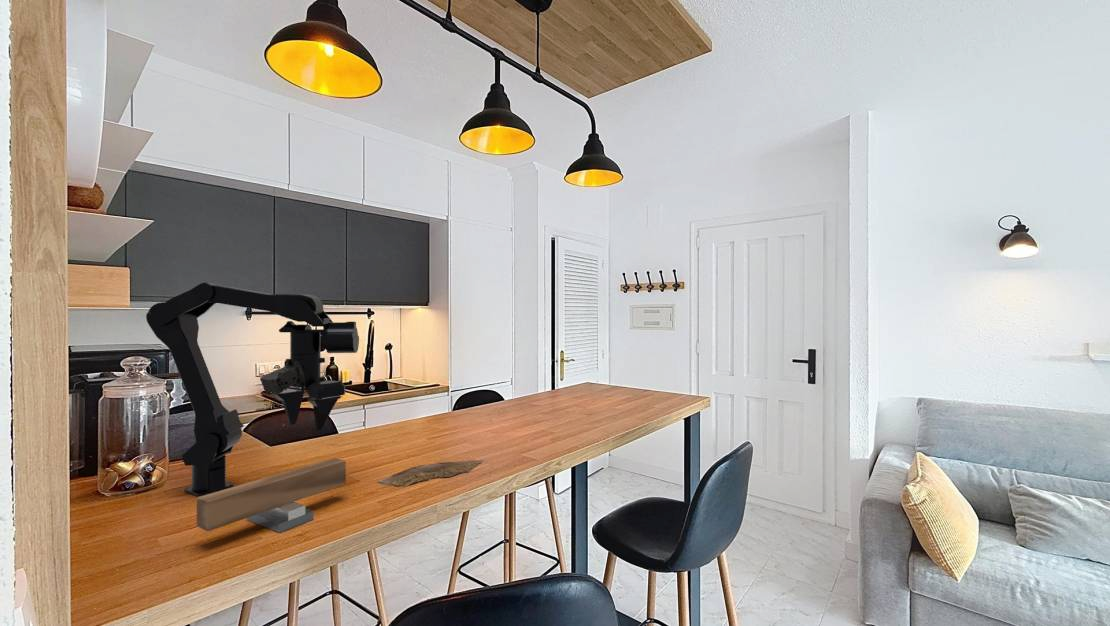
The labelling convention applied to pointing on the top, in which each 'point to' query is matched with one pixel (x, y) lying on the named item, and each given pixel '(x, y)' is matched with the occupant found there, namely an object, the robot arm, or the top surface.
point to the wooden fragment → (428, 472)
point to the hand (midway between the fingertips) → (305, 427)
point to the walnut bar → (268, 493)
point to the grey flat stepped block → (283, 517)
